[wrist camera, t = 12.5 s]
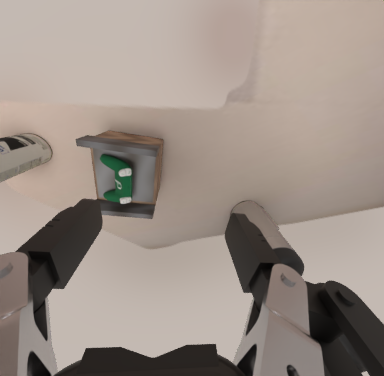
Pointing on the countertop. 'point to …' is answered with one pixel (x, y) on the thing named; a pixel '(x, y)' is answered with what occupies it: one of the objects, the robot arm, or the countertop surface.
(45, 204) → the countertop surface
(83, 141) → the charging cradle
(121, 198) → the gaming controller
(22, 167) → the spray can
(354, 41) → the countertop surface
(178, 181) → the countertop surface
